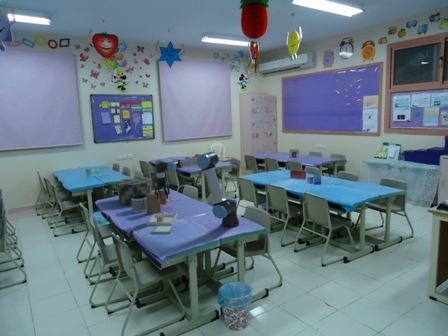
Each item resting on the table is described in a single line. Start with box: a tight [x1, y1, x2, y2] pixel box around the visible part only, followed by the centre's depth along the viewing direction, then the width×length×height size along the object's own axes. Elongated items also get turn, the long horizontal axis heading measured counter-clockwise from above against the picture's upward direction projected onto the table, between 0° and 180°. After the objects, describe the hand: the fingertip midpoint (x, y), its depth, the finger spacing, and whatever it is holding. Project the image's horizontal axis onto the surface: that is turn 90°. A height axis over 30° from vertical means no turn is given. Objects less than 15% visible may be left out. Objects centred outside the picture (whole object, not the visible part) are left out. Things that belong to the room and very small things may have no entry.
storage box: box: [116, 177, 153, 207], centre depth 365 cm, size 35×35×23 cm
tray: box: [145, 213, 179, 226], centre depth 293 cm, size 22×24×4 cm
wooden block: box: [146, 191, 162, 215], centre depth 318 cm, size 10×10×20 cm
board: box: [150, 225, 176, 235], centre depth 271 cm, size 16×16×1 cm
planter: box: [131, 195, 147, 214], centre depth 329 cm, size 16×16×14 cm
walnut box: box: [157, 189, 168, 205], centre depth 293 cm, size 6×6×12 cm
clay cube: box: [157, 216, 164, 222], centre depth 286 cm, size 5×5×6 cm
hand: (163, 202), depth 294 cm, fingers closed on walnut box, 6 cm apart
